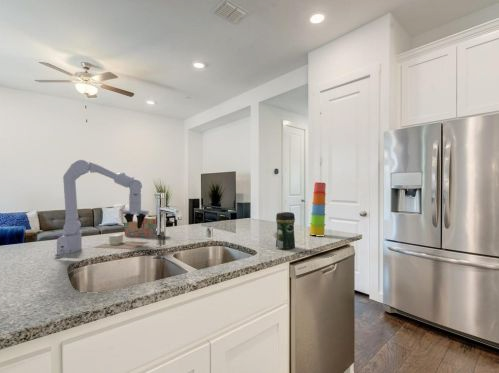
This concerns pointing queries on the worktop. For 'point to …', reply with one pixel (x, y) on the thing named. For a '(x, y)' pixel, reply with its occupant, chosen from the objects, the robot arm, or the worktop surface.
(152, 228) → the stack of blocks
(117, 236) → the cream brick
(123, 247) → the build board
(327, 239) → the worktop surface
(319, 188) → the stacking cups
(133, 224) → the terracotta brick
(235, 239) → the worktop surface
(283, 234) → the coffee jar
